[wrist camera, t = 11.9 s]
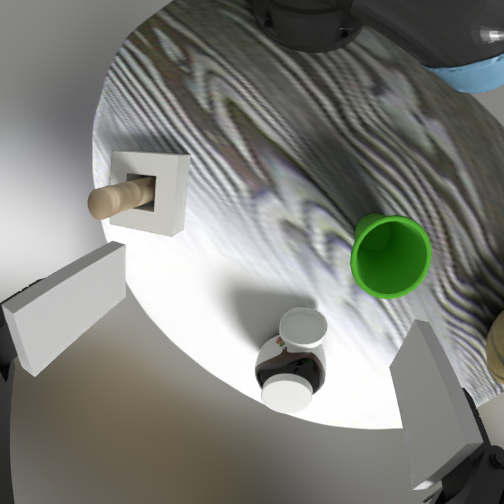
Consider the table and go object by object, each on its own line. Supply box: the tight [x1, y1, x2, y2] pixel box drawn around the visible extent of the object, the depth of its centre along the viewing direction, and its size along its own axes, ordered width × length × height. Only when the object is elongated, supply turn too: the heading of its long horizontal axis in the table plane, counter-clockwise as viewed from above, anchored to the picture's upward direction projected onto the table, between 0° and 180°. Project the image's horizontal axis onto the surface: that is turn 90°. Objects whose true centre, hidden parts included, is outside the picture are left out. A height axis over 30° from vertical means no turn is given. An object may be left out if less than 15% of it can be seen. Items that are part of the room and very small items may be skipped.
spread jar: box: [255, 307, 327, 413], centre depth 39 cm, size 12×11×12 cm
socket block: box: [110, 150, 191, 237], centre depth 39 cm, size 11×11×4 cm
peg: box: [88, 176, 156, 220], centre depth 35 cm, size 4×4×13 cm
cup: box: [350, 213, 432, 299], centre depth 32 cm, size 9×9×11 cm
